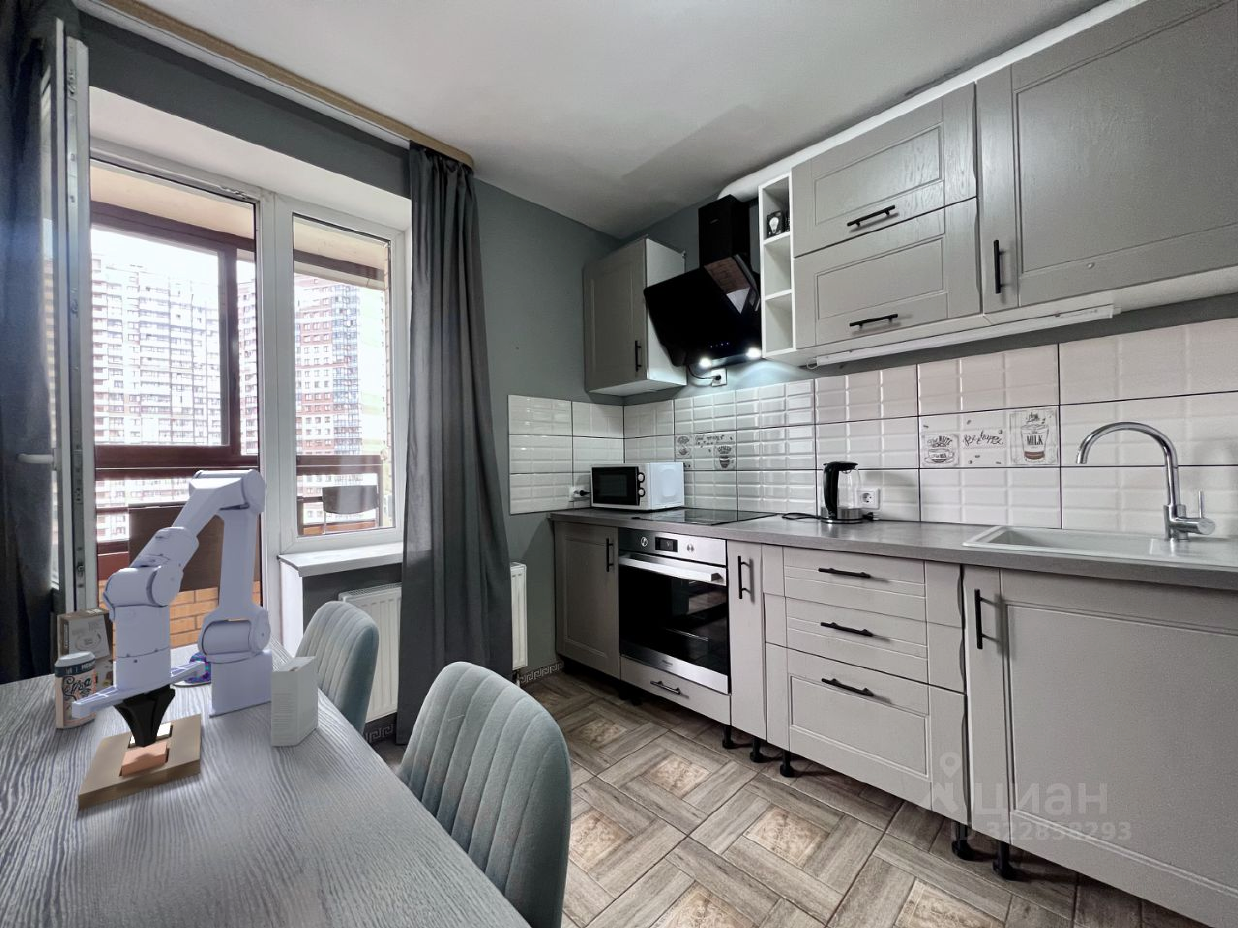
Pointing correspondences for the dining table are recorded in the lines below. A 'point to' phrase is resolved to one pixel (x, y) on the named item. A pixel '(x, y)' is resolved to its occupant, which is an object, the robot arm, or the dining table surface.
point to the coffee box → (89, 640)
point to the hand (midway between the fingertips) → (145, 744)
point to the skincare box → (294, 701)
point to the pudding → (201, 678)
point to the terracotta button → (144, 758)
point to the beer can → (73, 686)
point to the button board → (107, 769)
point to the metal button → (162, 734)
